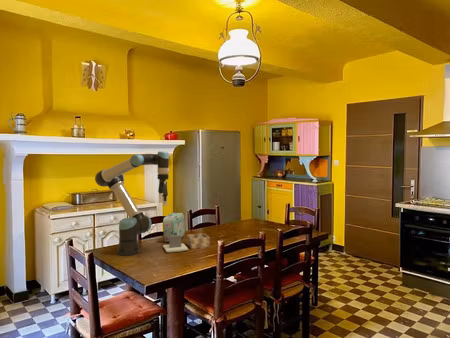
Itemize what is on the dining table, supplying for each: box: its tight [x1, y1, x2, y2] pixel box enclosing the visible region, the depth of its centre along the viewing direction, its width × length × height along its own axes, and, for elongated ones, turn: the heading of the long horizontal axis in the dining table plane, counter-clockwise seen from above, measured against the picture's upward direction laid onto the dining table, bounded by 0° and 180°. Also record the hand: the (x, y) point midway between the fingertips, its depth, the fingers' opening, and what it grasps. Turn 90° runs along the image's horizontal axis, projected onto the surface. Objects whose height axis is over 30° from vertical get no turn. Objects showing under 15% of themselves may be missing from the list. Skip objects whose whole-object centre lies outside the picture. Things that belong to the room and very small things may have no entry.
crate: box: [186, 233, 211, 250], centre depth 260 cm, size 14×14×7 cm
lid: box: [162, 235, 189, 253], centre depth 249 cm, size 15×15×10 cm
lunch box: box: [162, 212, 186, 243], centre depth 277 cm, size 27×10×21 cm, turn 168°
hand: (162, 204), depth 245 cm, fingers open, 13 cm apart
